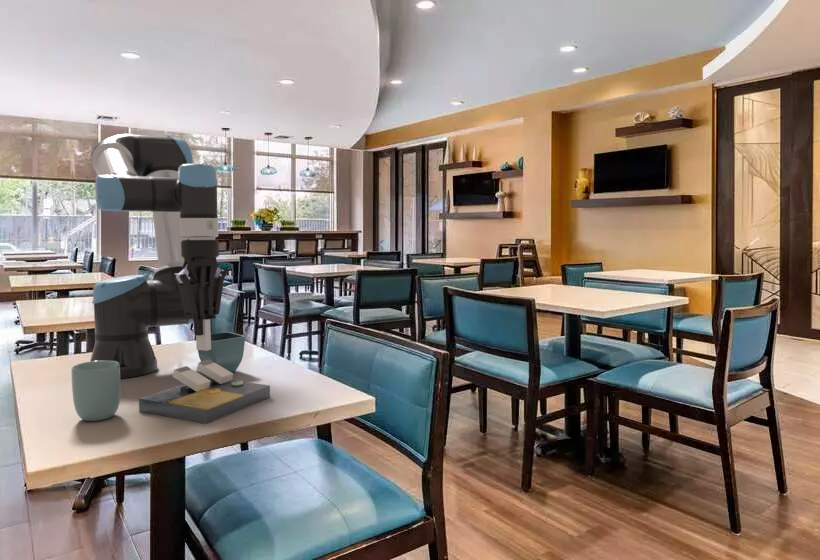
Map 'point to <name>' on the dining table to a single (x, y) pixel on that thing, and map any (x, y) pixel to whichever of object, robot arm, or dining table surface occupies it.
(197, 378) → the rocker
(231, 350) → the flower pot
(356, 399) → the dining table surface
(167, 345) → the dining table surface
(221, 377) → the rocker
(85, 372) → the cup
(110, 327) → the robot arm
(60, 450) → the dining table surface
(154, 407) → the panel
